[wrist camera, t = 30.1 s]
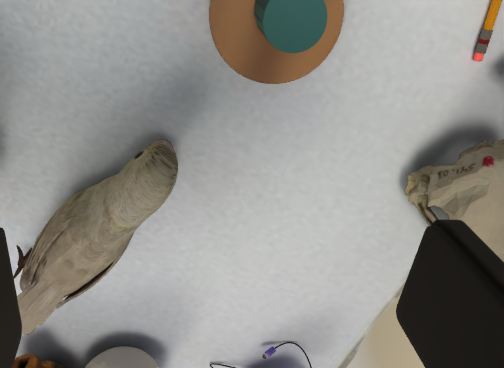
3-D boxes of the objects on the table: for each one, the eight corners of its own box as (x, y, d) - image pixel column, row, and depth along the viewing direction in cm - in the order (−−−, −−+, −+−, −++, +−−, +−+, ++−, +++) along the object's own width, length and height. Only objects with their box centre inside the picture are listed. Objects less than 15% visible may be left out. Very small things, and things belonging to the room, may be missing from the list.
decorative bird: (197, 159, 35) (201, 214, 28) (66, 280, 39) (44, 351, 33) (142, 113, 32) (133, 161, 26) (8, 247, 36) (-28, 317, 30)
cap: (323, 13, 30) (340, 24, 27) (277, 51, 31) (288, 67, 28) (289, -38, 28) (303, -32, 25) (241, 5, 29) (249, 16, 26)
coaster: (204, 76, 32) (204, 78, 31) (215, -70, 27) (215, -70, 27) (326, 86, 33) (328, 88, 33) (355, -50, 29) (358, -50, 28)
